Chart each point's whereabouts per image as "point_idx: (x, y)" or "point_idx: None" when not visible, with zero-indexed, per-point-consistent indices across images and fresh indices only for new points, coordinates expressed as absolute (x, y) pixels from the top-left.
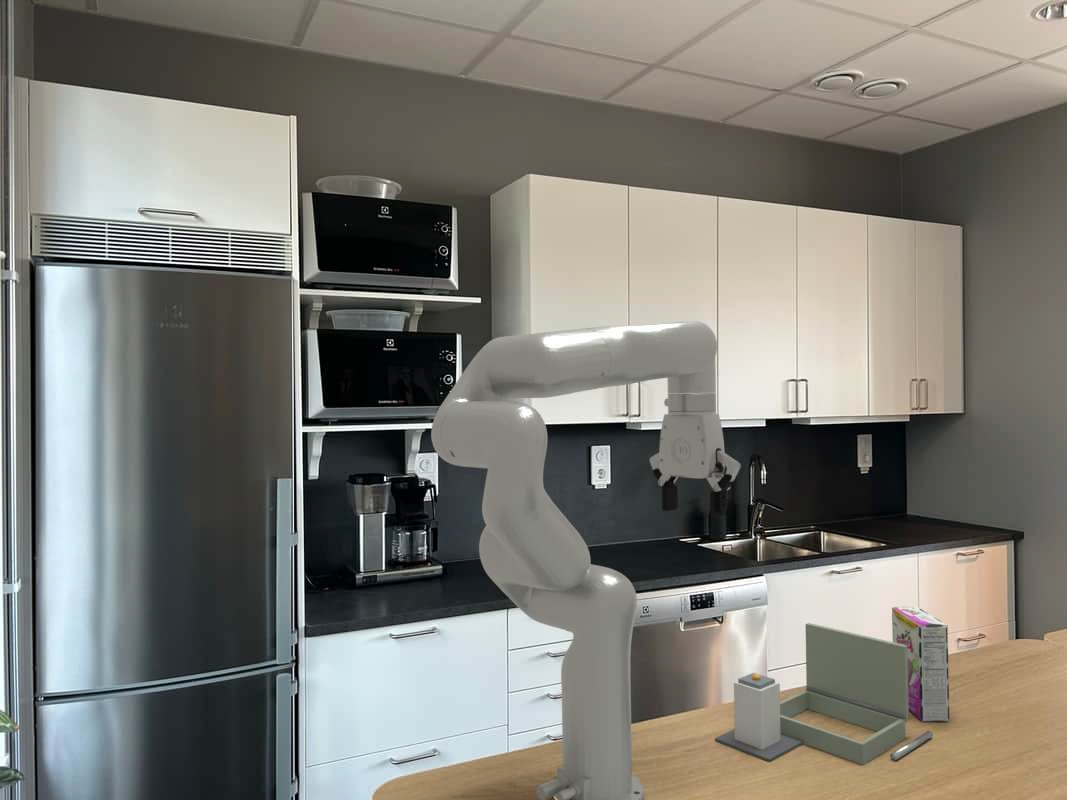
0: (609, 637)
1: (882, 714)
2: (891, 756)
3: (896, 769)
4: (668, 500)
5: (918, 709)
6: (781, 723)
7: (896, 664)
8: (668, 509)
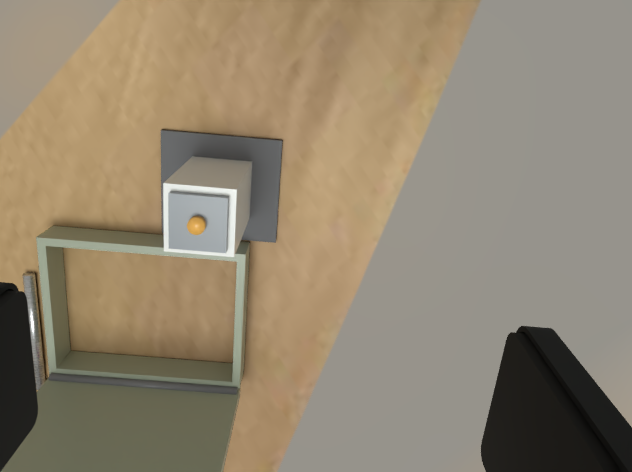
0: None
1: (86, 371)
2: (32, 274)
3: (11, 246)
4: (532, 408)
5: None
6: None
7: None
8: (504, 357)
